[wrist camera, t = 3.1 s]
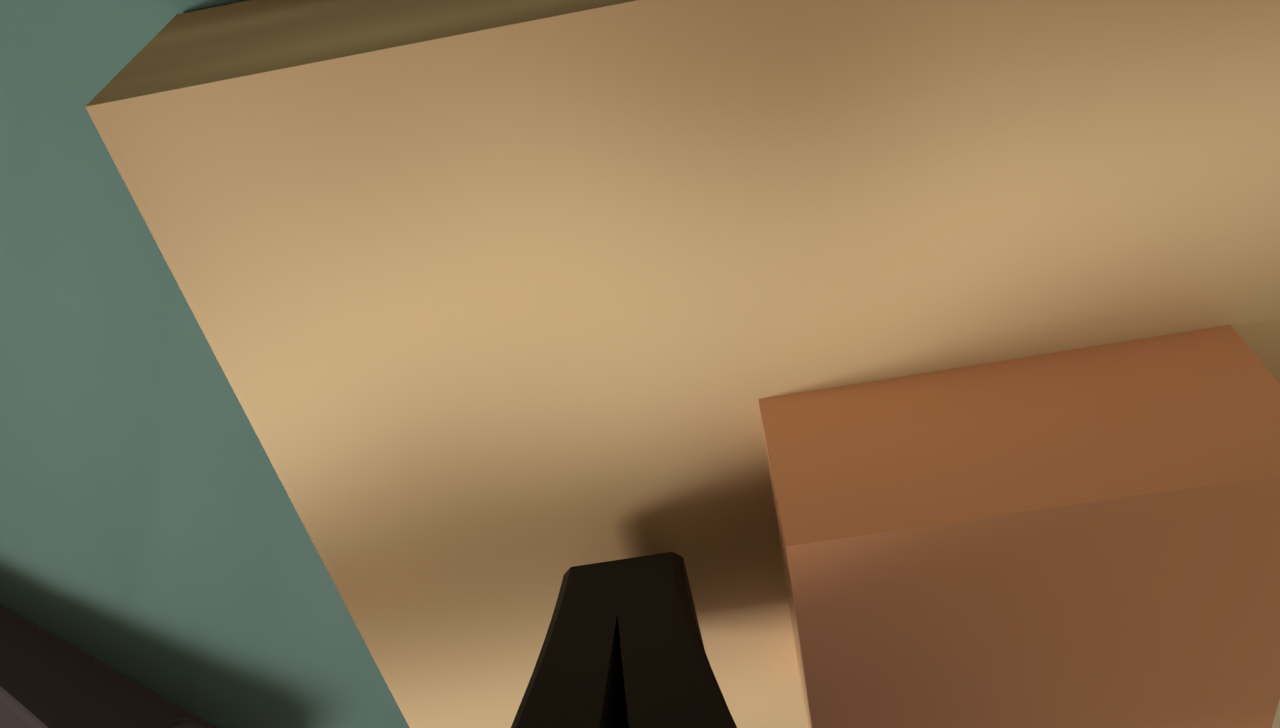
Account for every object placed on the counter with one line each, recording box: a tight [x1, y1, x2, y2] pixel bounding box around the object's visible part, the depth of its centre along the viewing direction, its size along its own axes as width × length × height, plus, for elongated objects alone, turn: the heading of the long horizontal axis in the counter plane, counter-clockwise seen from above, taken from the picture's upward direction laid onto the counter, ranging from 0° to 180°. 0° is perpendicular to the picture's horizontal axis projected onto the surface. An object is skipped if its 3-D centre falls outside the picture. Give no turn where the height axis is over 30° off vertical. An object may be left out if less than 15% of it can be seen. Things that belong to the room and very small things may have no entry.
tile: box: [758, 325, 1280, 728], centre depth 12 cm, size 5×5×2 cm
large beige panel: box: [86, 0, 1280, 728], centre depth 14 cm, size 14×12×2 cm
